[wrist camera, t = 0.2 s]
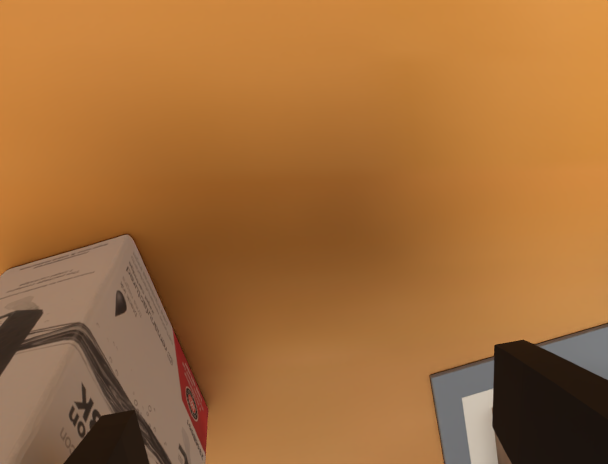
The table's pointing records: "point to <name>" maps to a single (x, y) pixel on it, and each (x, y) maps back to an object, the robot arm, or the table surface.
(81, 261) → the ink box
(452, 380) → the letter card
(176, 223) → the table surface
